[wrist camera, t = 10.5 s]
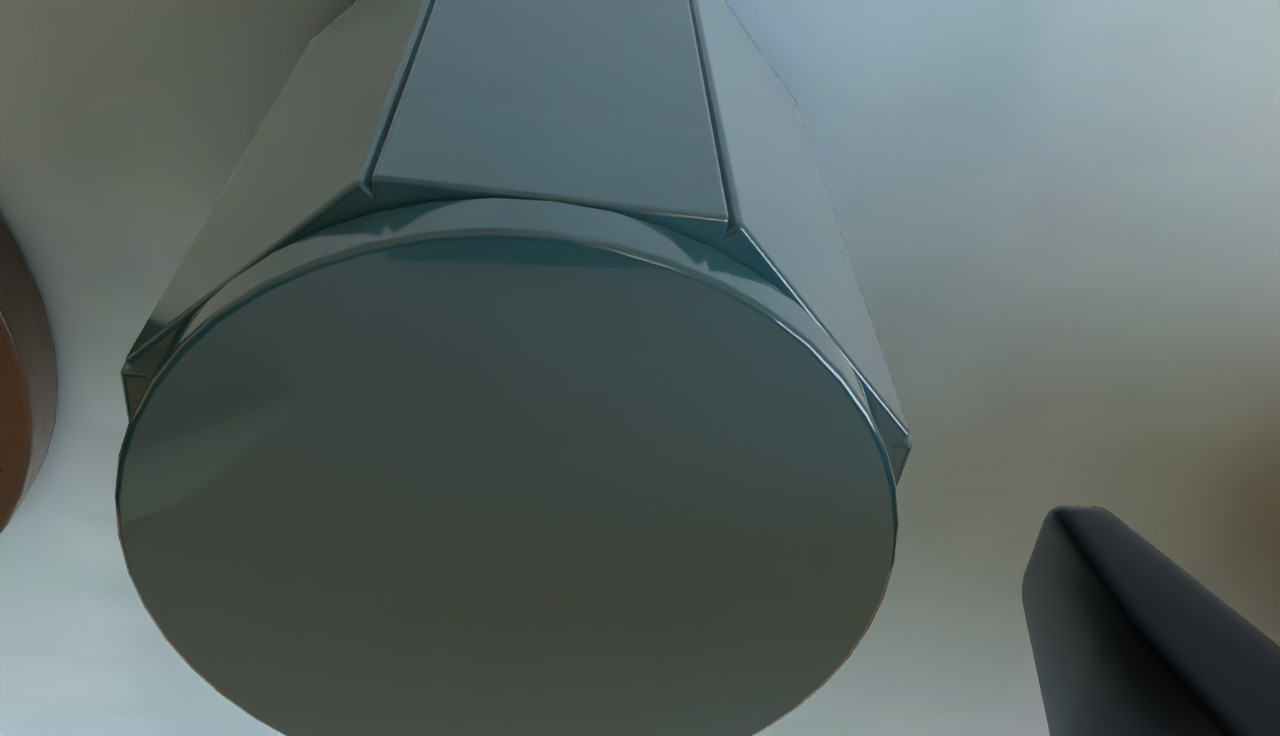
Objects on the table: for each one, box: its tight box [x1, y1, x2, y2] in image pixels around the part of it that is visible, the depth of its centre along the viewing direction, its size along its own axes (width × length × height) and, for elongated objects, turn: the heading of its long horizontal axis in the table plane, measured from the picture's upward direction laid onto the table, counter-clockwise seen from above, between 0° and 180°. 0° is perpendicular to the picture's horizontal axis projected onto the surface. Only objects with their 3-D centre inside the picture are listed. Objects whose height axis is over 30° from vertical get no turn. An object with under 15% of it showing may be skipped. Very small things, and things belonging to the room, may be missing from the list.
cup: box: [115, 0, 911, 736], centre depth 12 cm, size 6×6×7 cm
